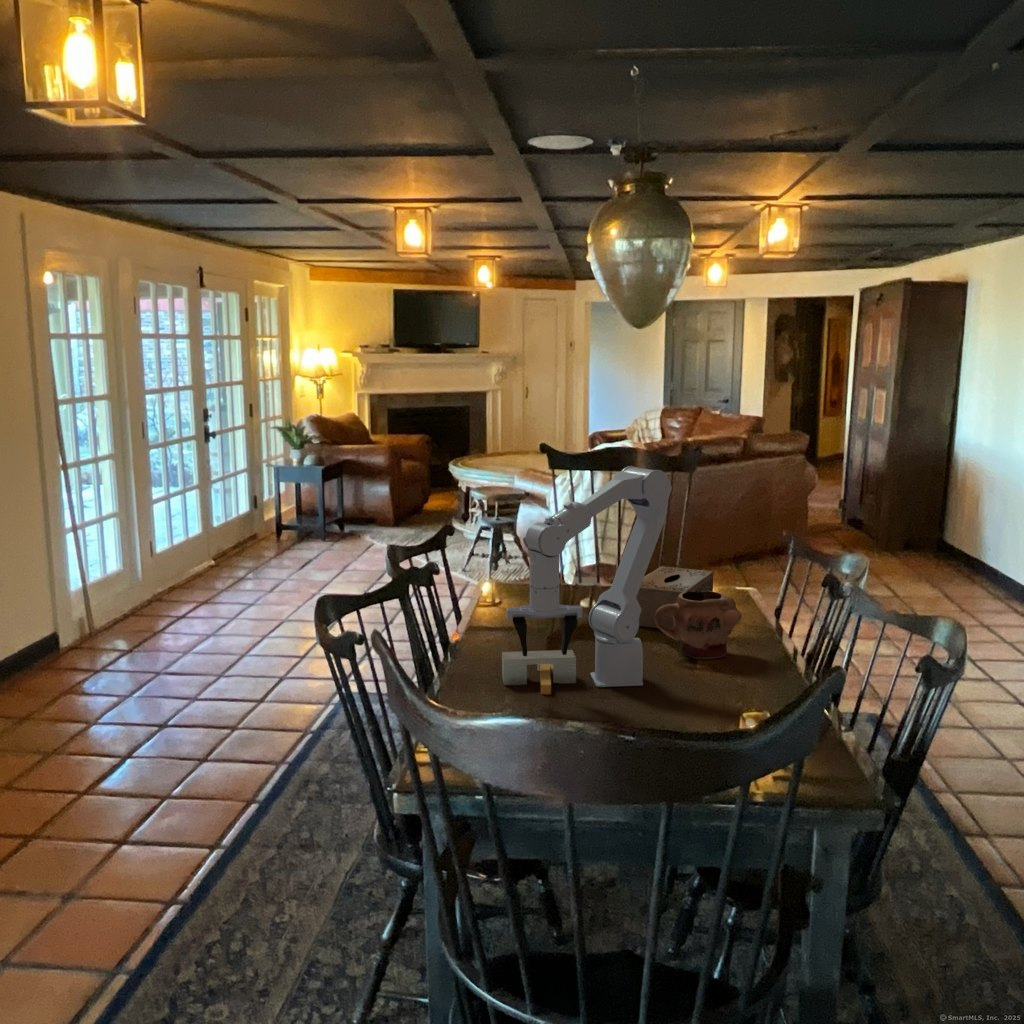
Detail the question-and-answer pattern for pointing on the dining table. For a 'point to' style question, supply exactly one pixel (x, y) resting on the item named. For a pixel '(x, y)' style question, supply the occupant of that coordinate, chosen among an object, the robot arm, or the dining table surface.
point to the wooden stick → (545, 678)
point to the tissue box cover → (668, 591)
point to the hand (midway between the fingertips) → (544, 654)
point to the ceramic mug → (701, 622)
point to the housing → (517, 663)
